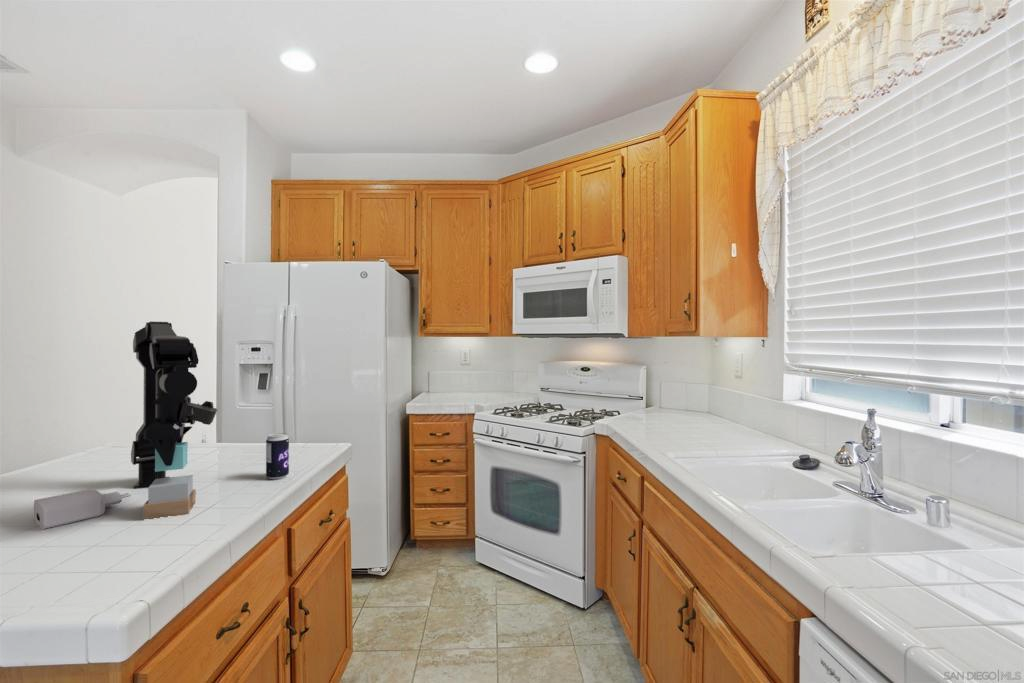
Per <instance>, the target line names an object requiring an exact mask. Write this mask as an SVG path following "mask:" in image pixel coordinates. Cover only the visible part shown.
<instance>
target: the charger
mask: <svg viewBox="0 0 1024 683" xmlns="http://www.w3.org/2000/svg"><path fill="white" fill-rule="evenodd" d="M131 496H132V494H129V492H125V493H119V492H118V491H113V492H112V491H111V492H107V493H101V492H100V491H98V490H96V489H91V488H88V489H84V490H77V491H73V492H69V493H63V494H58V495H54V496H53V495H52V496H48V497H43V498H38V499H35V500H34V502H33V520H34V522H35V523H36V522H37V523H38V524H39V525H40V526H41V527H42V528H43V529H42V528H41V527H40V526H39V525H38V524H37V523H36V524H37V525H38V526H39V527H40V528H41V529H42V530H47V529H51V528H50V527H52V528H56V527H60V526H63V524H64V525H67V524H71V523H72V522H73V523H76V521H77V522H80V520H81V521H84V519H85V520H89V519H93V517H94V518H97V517H100V516H102V515H103V514H104V513H106V507H109V506H110V507H111V506H114V505H118V504H120V503H122V501H123V499H124V498H128V497H131ZM38 519H39V520H38ZM59 525H60V526H59ZM55 526H56V527H55ZM46 528H47V529H46Z"/></svg>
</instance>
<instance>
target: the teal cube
mask: <svg viewBox="0 0 1024 683" xmlns="http://www.w3.org/2000/svg"><path fill="white" fill-rule="evenodd" d="M187 465H188V441H182V442H180V443H177V444H176V448H175V453H174V458H173V463H172V465H171V466H165V464H164V462H163V460H162V459H161V457H160V455H159V454H158V452H157V450H156V449H155V472H157V471H176V470H184V469H185V467H186V466H187Z"/></svg>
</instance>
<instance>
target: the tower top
mask: <svg viewBox="0 0 1024 683" xmlns="http://www.w3.org/2000/svg"><path fill="white" fill-rule="evenodd" d="M168 477H169V478H161V479H155V480H154V482H153V483H152V484H151V485H150V486H148V490H147V494H148V497H147V498H148V499H147V501H148V504H153V503H161V502H168V501H176V500H183V499H188V498H189V496H190V494H191V492H192V490H193V488H194V484H193V482H194V479H193V477H194V475H193V474H188V475H180V476H179V475H178V476H168Z"/></svg>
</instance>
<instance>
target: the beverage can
mask: <svg viewBox="0 0 1024 683" xmlns="http://www.w3.org/2000/svg"><path fill="white" fill-rule="evenodd" d="M289 446H290V437H289V436H288V433H285V432H277V433H271V434H268V435H267V438H266V440H265V447H266V448H265V477H267V478H268V479H269V480H271V479H277V480H281V478H282V479H285V478H286V477H287V476H288V475H289V472H290V447H289ZM284 477H285V478H284Z"/></svg>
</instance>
